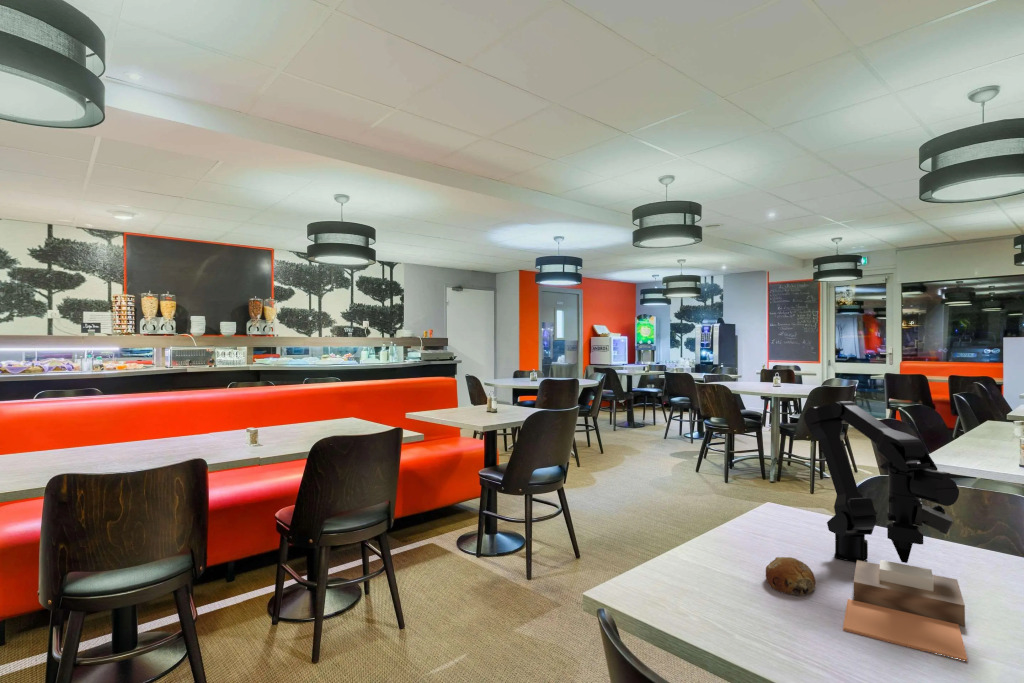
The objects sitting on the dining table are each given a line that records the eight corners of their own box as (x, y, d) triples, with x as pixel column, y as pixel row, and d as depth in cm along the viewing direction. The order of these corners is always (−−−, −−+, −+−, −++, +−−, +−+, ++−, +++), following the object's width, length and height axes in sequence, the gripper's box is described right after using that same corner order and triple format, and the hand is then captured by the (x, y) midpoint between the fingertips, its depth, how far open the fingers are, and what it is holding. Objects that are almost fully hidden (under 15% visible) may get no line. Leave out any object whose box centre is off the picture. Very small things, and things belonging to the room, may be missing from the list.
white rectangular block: (879, 580, 114) (879, 568, 114) (880, 570, 118) (879, 559, 119) (933, 591, 108) (933, 579, 108) (931, 580, 113) (931, 569, 113)
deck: (853, 600, 113) (853, 581, 113) (856, 577, 124) (856, 560, 124) (964, 626, 103) (964, 605, 103) (957, 598, 114) (957, 579, 114)
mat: (843, 630, 101) (843, 627, 101) (847, 601, 113) (847, 598, 113) (967, 662, 91) (967, 659, 91) (958, 627, 102) (958, 624, 102)
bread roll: (814, 600, 121) (812, 563, 124) (818, 598, 112) (816, 558, 115) (765, 592, 125) (765, 556, 128) (766, 589, 116) (765, 551, 120)
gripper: (954, 509, 109) (954, 586, 109) (946, 489, 124) (946, 557, 124) (887, 500, 115) (887, 573, 115) (887, 482, 130) (887, 546, 130)
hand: (904, 562), depth 121 cm, fingers closed
